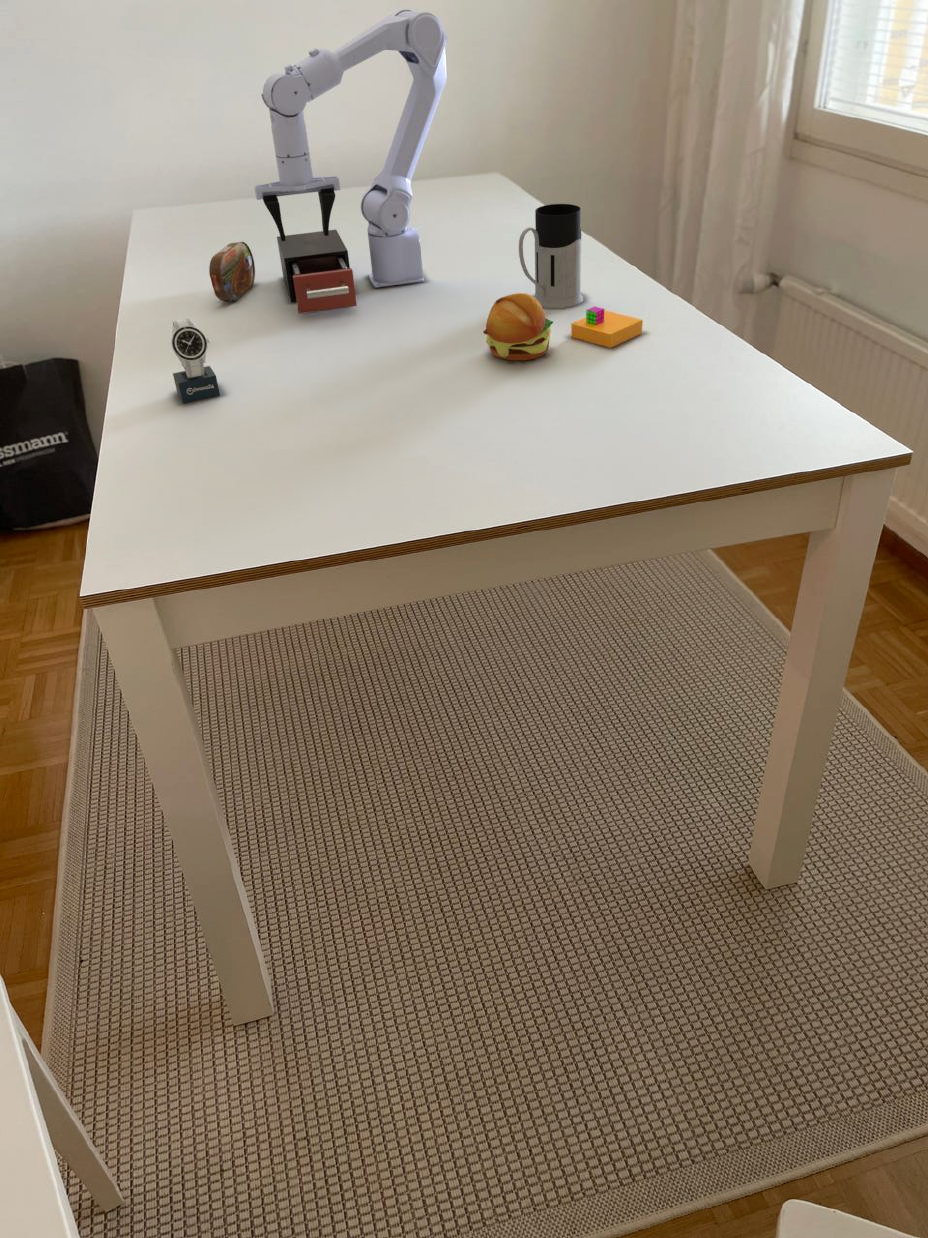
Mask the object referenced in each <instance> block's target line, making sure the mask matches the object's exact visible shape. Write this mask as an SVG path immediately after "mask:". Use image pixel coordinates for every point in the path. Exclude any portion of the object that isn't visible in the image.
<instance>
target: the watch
mask: <svg viewBox="0 0 928 1238" xmlns="http://www.w3.org/2000/svg"><path fill="white" fill-rule="evenodd" d="M171 336H172V337H171V348H172V350H173V353H174V354H175V356H176V357H177V358H178V361H180V363H181V366H182V367H183V368H184V370H182V371H178V372H172V377H173V381H174V385H175V389H176V392H177V395H178V397H179V399H180V401H181V402H182V404H187V403H188V404H189V403H193V402H197V401H202V400H206V399H210V398H215V397H220V396H221V392H220V388H219V383H218V379H217V375H216V373H215V372H214V370H213V369H212V367H211V366H210V365H207V366H205V364H206V361H207V350H208V345H210V343H211V342H210V339H209V337H206V335H205V333H203V331H201V330H200V328H199V327H198V326H197V324H196V323H195V322H192V320H191V319H190V318H184V319H178V320H173V321H172V335H171Z"/></svg>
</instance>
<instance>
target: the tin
mask: <svg viewBox="0 0 928 1238" xmlns="http://www.w3.org/2000/svg"><path fill="white" fill-rule="evenodd" d="M255 265H256V264H255V259H254V256H253V253H252V250H251V247H249V245H248V244H247V242H245V241H239V242H238V241H237V242H231V243H228V244H226V246H224V247H223V248H222V249H220V250H219V251H218V252H216V253H215V254H214V255H213V256H212V257H211V259H210V262H209V267H208V274H209V278H210V281H211V285H212V289H213V292H214V295H215V296H216V298H217V299H219V300H220V301H223V302H229V301H233V302H234V301H235V302H236V301H238V300H239V299H240V298H241V297H242V296H243V295H244V294H245V293H246V292H248V291H249V290H250V289H251V288H252V287H253V285H254V283H255V280H256V278H255V277H256V266H255Z"/></svg>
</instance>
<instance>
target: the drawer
mask: <svg viewBox="0 0 928 1238" xmlns="http://www.w3.org/2000/svg"><path fill="white" fill-rule="evenodd" d="M290 265H291V271H292V278H293V284H294V289H295V294H296V300H297V302H296V306H297V312H298V314H306V313H314V312H320V311H329V310H335V309H337V310H338V309H343V308H350V307H352V308H353V307H357V306H358V305H357V296H356V288H355V280H354V270H353V269H352V267H350V268H349V269H347V266H346V264H345V263H344V261H343V259H342V257H341V255H339V256H331V257H323V258H315V259H307V260H299V261H291V262H290Z"/></svg>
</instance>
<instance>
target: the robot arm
mask: <svg viewBox="0 0 928 1238" xmlns="http://www.w3.org/2000/svg"><path fill="white" fill-rule="evenodd" d="M447 42H448V36H447V34H446V32H445V29H444V27H443V25H442V23H441V21H440V19H439V18H438V17H437V16H436V15H435V14H434V13H432V12H429V11H421V12H420V11H414V10H411V9H401V10H399V11H397V12H396V13H395V14H393V15H391V14H390V15H388V16H386V17H384V18H383V19H381V20H379V21H378V22H376V23H374V24H373V25H372V26H370V27H369V28H367V29H365V30H364V31H363V32H361V33H360V34H358V35H357V36H355V37H354V38H352V39H351V40H349V41H348V42H346V43H345V44H343V45H342V46H340V47H338V48H337V49H335V50H334V51H331V50H330V49H326V48H320V49H318V48H315V47H313V48H312V49H310V50H309V51H308V54H309V55H308V56H307V57H306V58H304V59H302V60H300V61H299V62H297V63H295V64H293V65H291V64H287V65H285V66H284V70H285V72H284V73H279V72H277V73H273V74H271V75H270V76H269V77H267V79H265V82H264V84H263V87H262V93H261V99H262V101H263V104H264V105H265V106H266V107H267V109H268V112H269V117H270V124H271V126H270V127H271V134H272V142H273V147H274V154H275V159H276V160H275V161H276V166H277V173H278V180H279V181H274V182H269V183H263V184H258V185H254V186H253V188H254V193H255V198H256V200H257V201H259V200H263V203H264V205H265V208H266V209H267V210H268V212H269V215H270V216H271V218H272V219H273V221H274V223H275V225H276V227H277V231H278V233H279V236H280V238H281V241H286V239H285V236H286V234H285V230H284V225H283V221H282V213H281V205H280V202H279V198H278V197H287V196H295V195H303V194H311V193H312V194H313V193H317V194H318V200H319V207H320V213H321V225H322V231H323V233H324V235H325V236H329V229H330V220H331V219H330V218H331V214H332V210H333V206H334V203H335V200H336V191H341V184H340V177H338V176H337V175H336V176H335V175H334V176H318V177H314V176H313V170H312V169H313V168H312V161H311V154H310V147H309V143H308V142H309V141H308V132H307V126H306V122H305V116H304V110H305V108H306V105H307V103H310V102H312V101H314V100H315V99H317V98H319V97H320V96H322V95H324V94H325V93H327V92H328V91H330V90H332V89H333V88H335V87H337V86H339V85H341V83H342V79H343V76H344V74H345V71H348V70H349V69H351V68H353V67H356V66H357V65H359V64H360V63H363V62H365V61H367V60H368V59H370V58H372V57H375V56H376V55H377V54H380V53H381V52H383V51H394V52H395V51H397V52H398V53H399V54H400V55H401V56H402V58H403V59H404V60H405V61H406V64H407V66H408V69H409V71H410V73H411V76H412V78H413V80H412V83H411V86H410V89H409V91H408V96H407V98H406V100H405V104H404V107H403V109H402V112H401V115H400V118H399V121H398V124H397V127H396V130H395V133H394V136H393V138H392V141H391V145H390V148H389V149H388V154H387V157H386V159H385V162H384V165H383V168H382V170H381V171H380V172H379V173H378V174H377V175H376V176H375V177H374V179H373V181H372V183H371V186H370V187H369V189H368V190H367V191H366V192H365V193H364V194H363V196H362V198H361V201H360V211H361V212H360V213H361V215H362V217H363V218H364V219H365V221H367V223H368V225H367V230H366V231H367V238H368V249H369V258H370V266H371V272H370V273H367V276H368V278H369V280H370V282H371V284H372V286H373V288H383V287H391V286H399V285H406V284H415V283H421V282H424V281H425V278H424V270H423V257H422V245H421V241H420V240H421V239H420V238H421V237H420V234H419V231H418V229H417V228H416V227H411V228H409V227H408V225H409V222H410V219H411V203H412V200H413V190H412V184H411V181H412V179H413V177H414V173H415V171H416V168H417V165H418V162H419V159H420V157H421V153H422V150H423V147H424V145H425V143H426V139H427V137H428V133H429V131H430V129H431V126H432V123H433V119H434V117H435V114H436V110H437V109H438V105H439V103H440V100H441V97H442V94H443V91H444V88H445V86H446V83H447V78H448V77H447V75H448V73H447V60H446V45H447ZM407 227H408V228H407Z"/></svg>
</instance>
